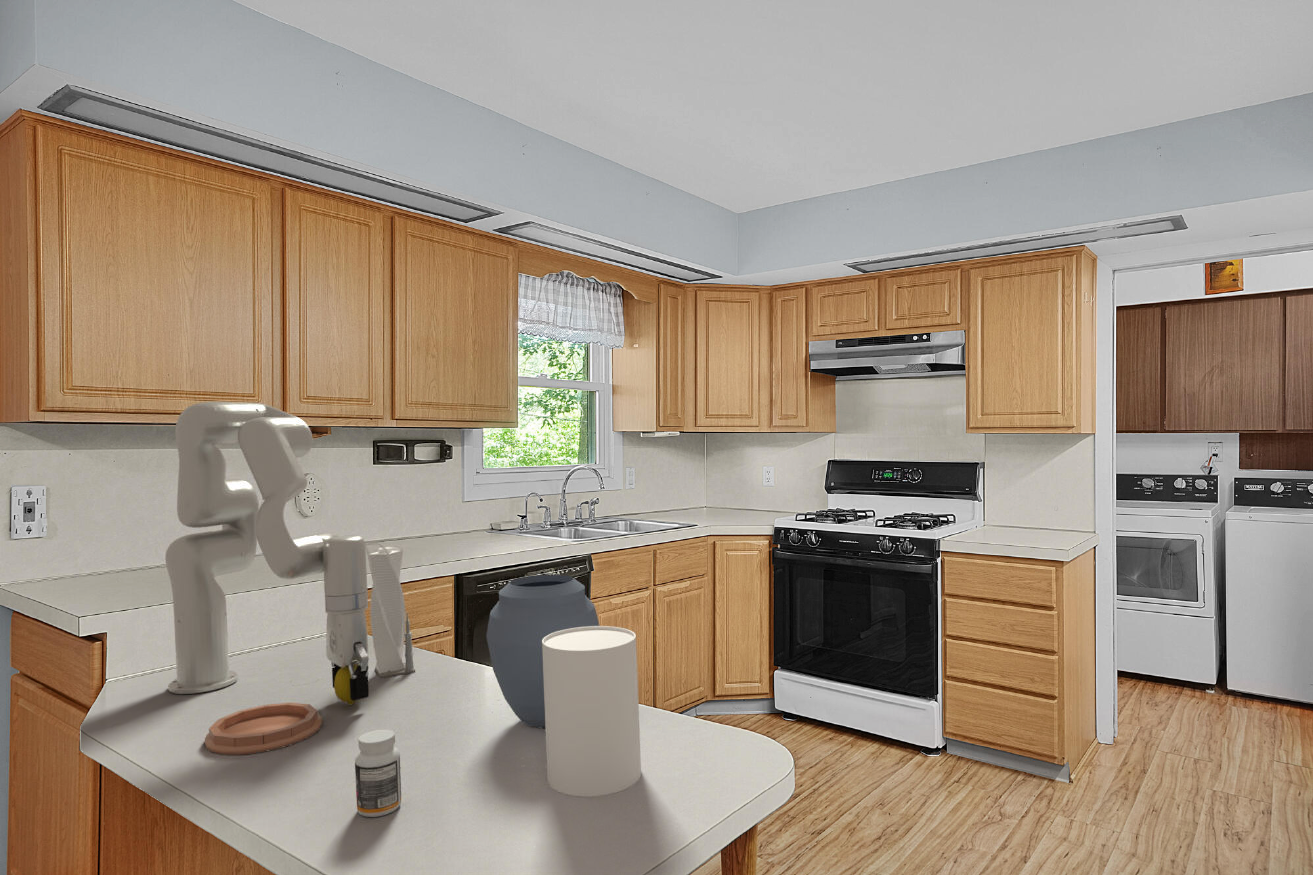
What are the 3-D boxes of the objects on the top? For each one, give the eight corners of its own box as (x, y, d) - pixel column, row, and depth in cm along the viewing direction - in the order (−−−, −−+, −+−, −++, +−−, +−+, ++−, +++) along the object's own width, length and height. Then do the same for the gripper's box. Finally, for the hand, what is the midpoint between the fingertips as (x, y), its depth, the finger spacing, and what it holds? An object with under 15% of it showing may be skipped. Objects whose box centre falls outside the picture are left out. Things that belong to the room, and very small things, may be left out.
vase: (621, 726, 135) (615, 582, 135) (507, 751, 126) (501, 597, 126) (580, 694, 153) (575, 566, 152) (477, 713, 144) (472, 578, 144)
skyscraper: (373, 679, 167) (368, 544, 167) (367, 669, 174) (361, 540, 174) (415, 671, 171) (409, 540, 171) (406, 662, 178) (401, 537, 178)
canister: (555, 757, 124) (550, 627, 123) (643, 754, 123) (638, 624, 123) (540, 797, 110) (534, 652, 110) (638, 795, 110) (632, 649, 109)
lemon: (356, 710, 148) (354, 667, 148) (329, 709, 149) (327, 666, 149) (372, 700, 154) (370, 658, 154) (346, 699, 155) (344, 658, 155)
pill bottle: (363, 800, 111) (360, 729, 111) (406, 797, 112) (403, 726, 112) (351, 820, 105) (348, 745, 105) (396, 817, 106) (393, 742, 106)
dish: (195, 733, 139) (194, 719, 139) (304, 707, 151) (303, 694, 151) (218, 764, 126) (217, 748, 126) (336, 733, 137) (335, 718, 137)
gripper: (311, 599, 156) (315, 687, 156) (341, 612, 142) (346, 708, 142) (350, 592, 160) (354, 678, 161) (383, 605, 147) (387, 698, 147)
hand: (350, 692), depth 152 cm, fingers open, 9 cm apart
